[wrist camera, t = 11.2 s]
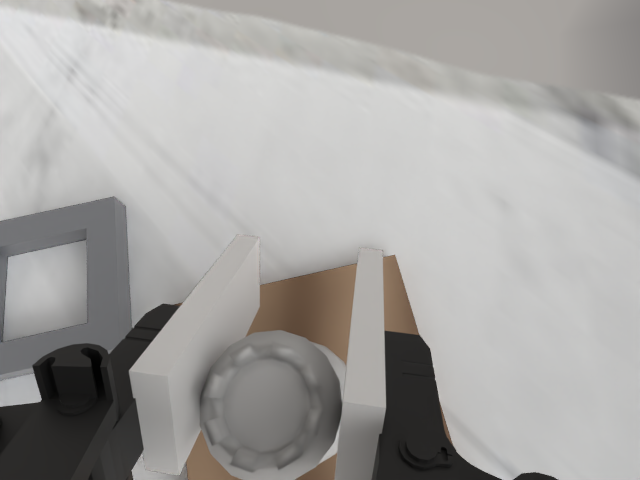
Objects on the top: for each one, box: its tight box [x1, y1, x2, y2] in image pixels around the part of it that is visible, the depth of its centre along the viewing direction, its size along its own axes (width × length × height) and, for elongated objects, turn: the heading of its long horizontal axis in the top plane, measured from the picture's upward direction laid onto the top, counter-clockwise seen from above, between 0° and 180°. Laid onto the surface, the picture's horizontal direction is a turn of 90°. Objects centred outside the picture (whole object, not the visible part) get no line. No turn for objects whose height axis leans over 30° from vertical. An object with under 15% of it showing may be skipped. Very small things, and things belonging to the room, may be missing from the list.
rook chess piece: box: [200, 330, 346, 480], centre depth 12 cm, size 4×4×8 cm
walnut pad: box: [175, 255, 452, 480], centre depth 18 cm, size 11×11×1 cm
